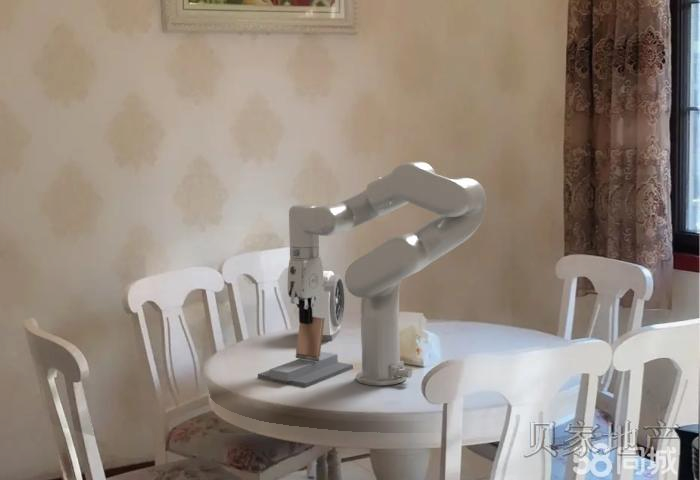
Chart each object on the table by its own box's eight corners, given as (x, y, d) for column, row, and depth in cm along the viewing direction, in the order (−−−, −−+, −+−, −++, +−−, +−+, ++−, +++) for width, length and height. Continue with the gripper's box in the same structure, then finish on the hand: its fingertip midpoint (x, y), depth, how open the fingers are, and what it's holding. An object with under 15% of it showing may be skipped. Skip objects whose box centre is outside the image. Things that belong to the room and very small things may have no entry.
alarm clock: (334, 343, 248) (332, 276, 245) (306, 343, 249) (304, 276, 247) (346, 330, 265) (344, 267, 263) (320, 329, 267) (318, 267, 264)
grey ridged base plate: (353, 368, 220) (352, 356, 220) (304, 388, 204) (303, 375, 204) (305, 360, 230) (305, 349, 229) (255, 379, 213) (254, 366, 213)
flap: (316, 361, 215) (319, 361, 216) (321, 317, 216) (324, 318, 217) (295, 358, 219) (298, 358, 220) (300, 315, 220) (303, 315, 221)
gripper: (297, 257, 207) (299, 330, 209) (333, 250, 219) (334, 319, 221) (274, 255, 211) (276, 326, 213) (310, 248, 223) (312, 316, 225)
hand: (305, 322), depth 217 cm, fingers closed
